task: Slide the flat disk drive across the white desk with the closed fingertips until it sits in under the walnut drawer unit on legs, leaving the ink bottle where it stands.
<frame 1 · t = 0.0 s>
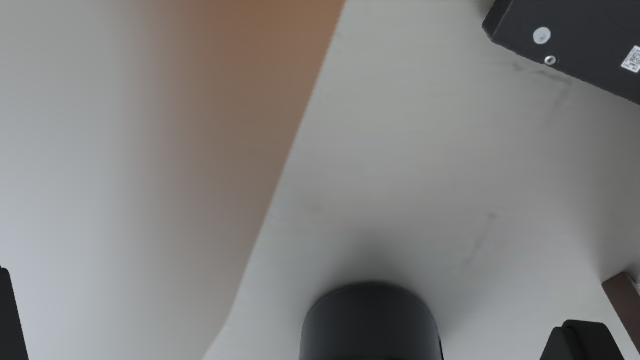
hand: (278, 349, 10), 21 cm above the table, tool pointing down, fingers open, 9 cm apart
ink bottle: (369, 328, 39), on the table
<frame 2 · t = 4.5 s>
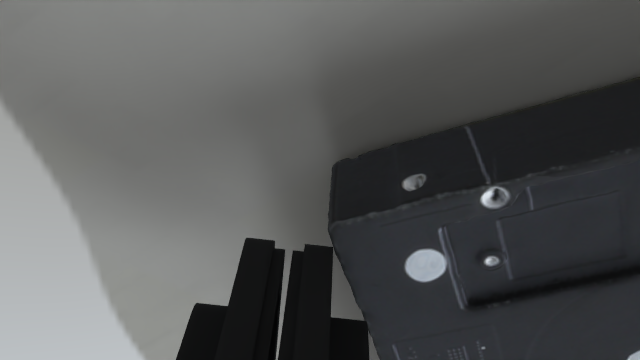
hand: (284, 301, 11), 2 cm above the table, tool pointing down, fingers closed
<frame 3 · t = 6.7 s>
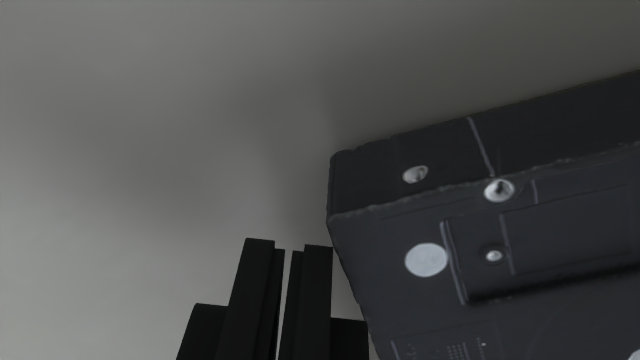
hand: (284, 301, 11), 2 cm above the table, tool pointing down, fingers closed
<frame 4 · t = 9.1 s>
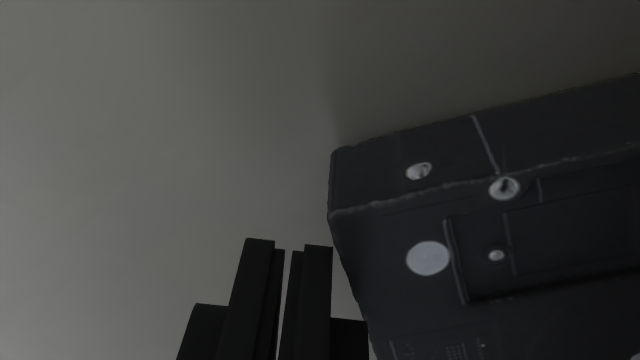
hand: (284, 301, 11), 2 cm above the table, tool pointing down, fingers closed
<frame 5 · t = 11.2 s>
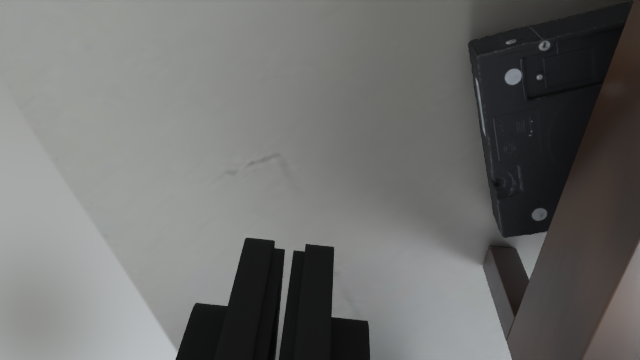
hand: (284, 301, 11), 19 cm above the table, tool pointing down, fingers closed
disk drive: (627, 98, 29), on the table
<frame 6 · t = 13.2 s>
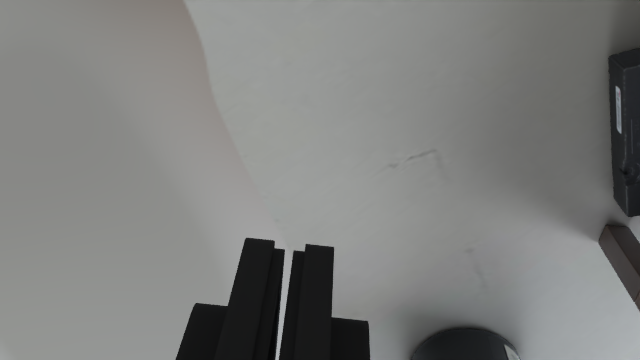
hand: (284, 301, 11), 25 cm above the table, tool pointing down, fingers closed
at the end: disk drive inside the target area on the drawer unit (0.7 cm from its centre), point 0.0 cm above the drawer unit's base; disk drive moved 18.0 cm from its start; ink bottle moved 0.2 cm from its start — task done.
